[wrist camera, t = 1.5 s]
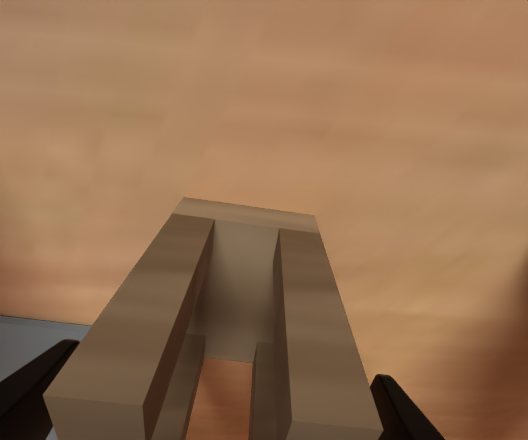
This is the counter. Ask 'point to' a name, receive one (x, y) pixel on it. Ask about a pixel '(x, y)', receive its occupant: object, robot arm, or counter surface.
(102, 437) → the wooden chair
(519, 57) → the counter surface
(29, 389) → the robot arm
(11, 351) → the mat
